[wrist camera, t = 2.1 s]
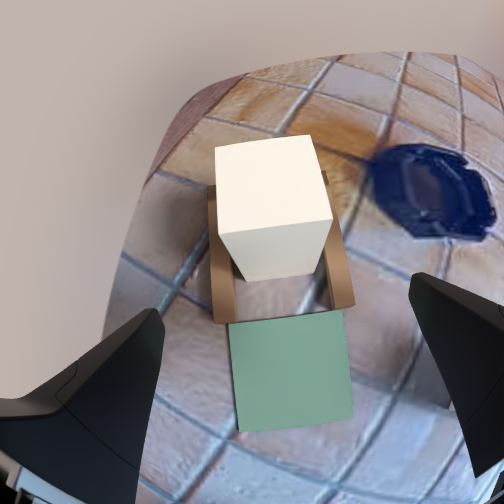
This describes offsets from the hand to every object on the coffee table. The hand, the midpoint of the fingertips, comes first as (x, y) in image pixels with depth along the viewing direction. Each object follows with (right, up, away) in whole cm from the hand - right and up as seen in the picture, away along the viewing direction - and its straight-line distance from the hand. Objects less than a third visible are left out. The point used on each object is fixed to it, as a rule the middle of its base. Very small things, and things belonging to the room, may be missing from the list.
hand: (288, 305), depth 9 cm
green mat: (+2, -8, +11) cm, 13 cm away
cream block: (+1, +2, +14) cm, 15 cm away
